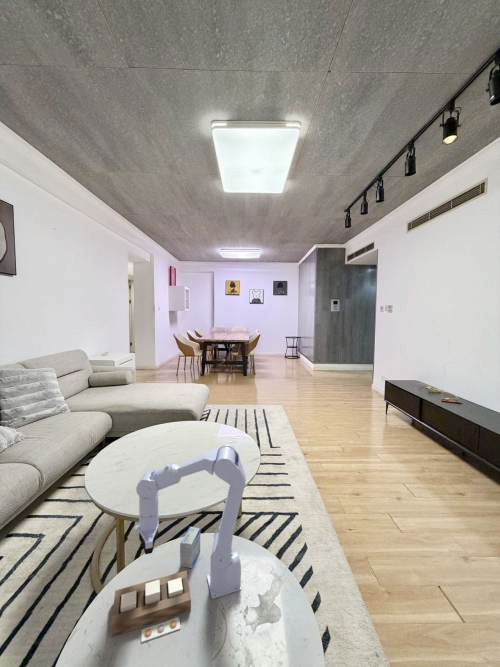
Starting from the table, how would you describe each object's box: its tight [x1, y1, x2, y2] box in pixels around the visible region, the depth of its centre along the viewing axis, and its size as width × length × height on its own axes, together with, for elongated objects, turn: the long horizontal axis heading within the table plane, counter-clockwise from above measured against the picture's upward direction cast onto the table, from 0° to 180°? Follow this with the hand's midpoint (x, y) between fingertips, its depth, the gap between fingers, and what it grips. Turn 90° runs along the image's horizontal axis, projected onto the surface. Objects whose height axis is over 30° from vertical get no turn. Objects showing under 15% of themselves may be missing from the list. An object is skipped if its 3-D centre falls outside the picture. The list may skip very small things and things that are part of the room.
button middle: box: [145, 580, 160, 606], centre depth 84 cm, size 4×4×3 cm
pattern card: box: [140, 616, 181, 643], centre depth 78 cm, size 10×3×1 cm, turn 110°
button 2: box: [168, 578, 183, 598], centre depth 86 cm, size 4×4×3 cm
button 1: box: [121, 591, 136, 613], centre depth 81 cm, size 4×4×3 cm
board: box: [110, 570, 192, 638], centre depth 84 cm, size 21×10×3 cm, turn 110°
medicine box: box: [179, 526, 201, 569], centre depth 100 cm, size 8×4×9 cm, turn 168°
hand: (148, 552), depth 90 cm, fingers closed
